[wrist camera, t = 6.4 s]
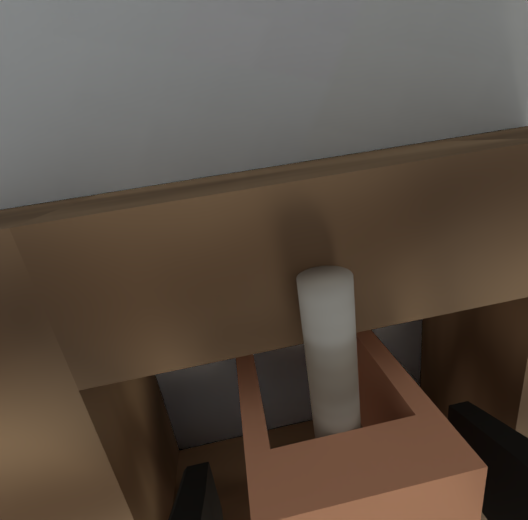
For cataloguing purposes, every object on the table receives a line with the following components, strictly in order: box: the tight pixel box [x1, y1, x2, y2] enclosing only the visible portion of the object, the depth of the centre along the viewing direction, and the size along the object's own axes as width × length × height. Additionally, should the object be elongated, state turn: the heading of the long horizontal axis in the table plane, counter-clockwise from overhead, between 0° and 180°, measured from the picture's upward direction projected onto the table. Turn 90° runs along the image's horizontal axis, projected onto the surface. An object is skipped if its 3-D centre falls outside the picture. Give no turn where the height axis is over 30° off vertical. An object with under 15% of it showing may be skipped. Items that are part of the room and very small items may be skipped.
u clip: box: [236, 330, 488, 520], centre depth 9 cm, size 4×5×6 cm
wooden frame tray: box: [0, 126, 528, 520], centre depth 11 cm, size 16×20×6 cm
